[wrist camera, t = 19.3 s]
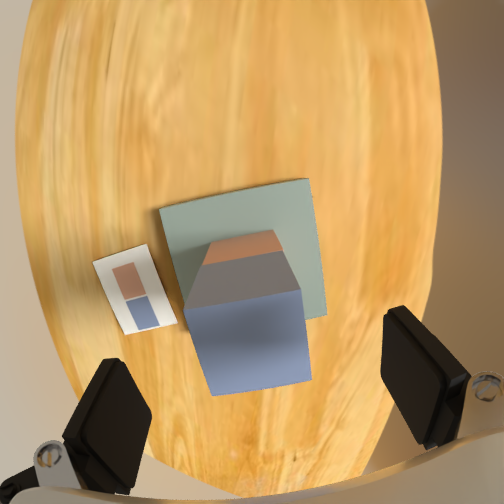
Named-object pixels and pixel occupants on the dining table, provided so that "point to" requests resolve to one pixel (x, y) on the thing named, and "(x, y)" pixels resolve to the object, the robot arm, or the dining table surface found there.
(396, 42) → the dining table surface
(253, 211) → the baseplate
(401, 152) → the dining table surface
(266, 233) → the brick
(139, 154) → the dining table surface
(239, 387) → the brick
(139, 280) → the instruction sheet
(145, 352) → the dining table surface
